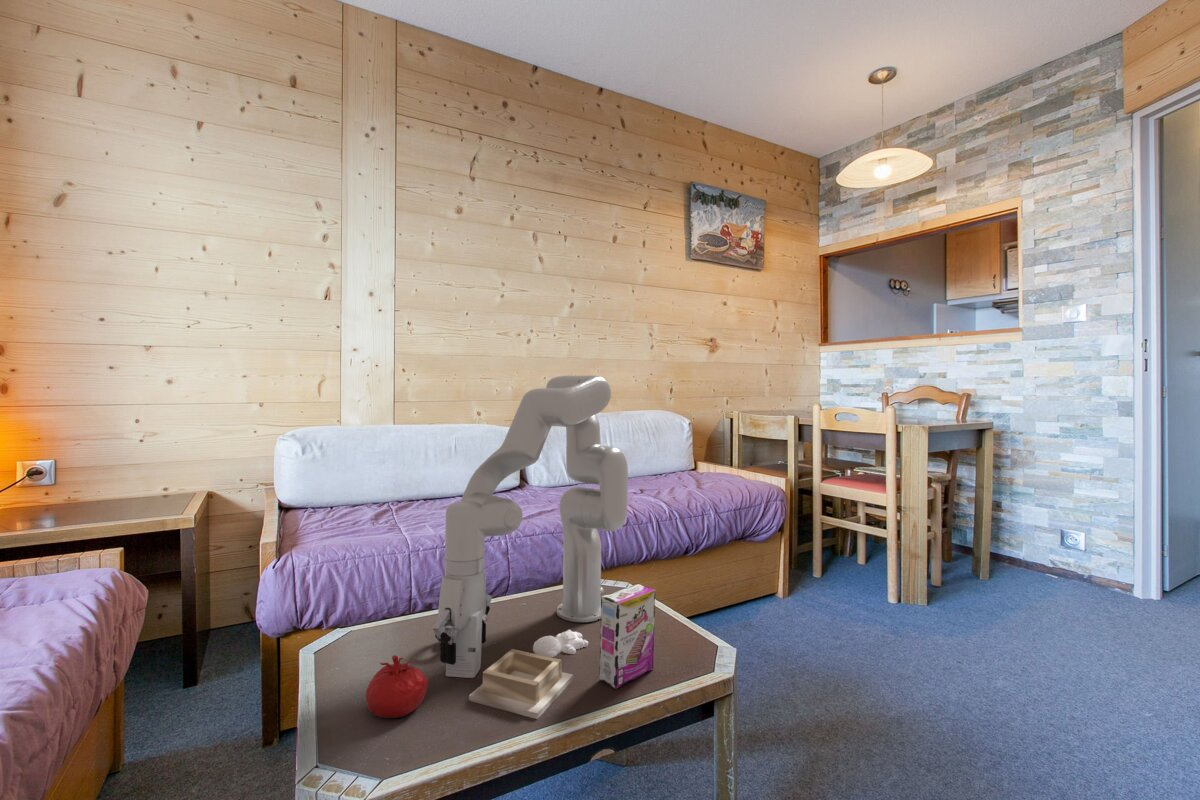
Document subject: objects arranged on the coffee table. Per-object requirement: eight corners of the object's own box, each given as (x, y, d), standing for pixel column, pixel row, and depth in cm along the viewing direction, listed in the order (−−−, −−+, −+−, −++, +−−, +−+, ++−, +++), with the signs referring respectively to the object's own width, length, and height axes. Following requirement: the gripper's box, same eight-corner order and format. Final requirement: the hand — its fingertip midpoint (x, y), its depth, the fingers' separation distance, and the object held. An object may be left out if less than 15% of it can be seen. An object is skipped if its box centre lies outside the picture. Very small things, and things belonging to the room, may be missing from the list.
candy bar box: (617, 690, 103) (617, 603, 102) (598, 680, 106) (599, 596, 106) (655, 670, 110) (656, 588, 110) (636, 661, 114) (637, 582, 114)
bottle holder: (510, 665, 112) (511, 643, 112) (573, 679, 106) (573, 656, 106) (469, 700, 99) (469, 675, 99) (537, 719, 93) (537, 693, 93)
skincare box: (445, 677, 107) (445, 615, 107) (452, 665, 111) (453, 606, 111) (476, 678, 106) (476, 616, 106) (482, 667, 111) (483, 607, 111)
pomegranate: (404, 731, 90) (404, 675, 90) (353, 720, 93) (353, 666, 93) (438, 697, 100) (438, 647, 99) (390, 688, 102) (390, 639, 102)
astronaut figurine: (591, 653, 118) (592, 639, 118) (536, 661, 114) (536, 646, 114) (581, 636, 126) (581, 623, 126) (529, 643, 123) (529, 629, 123)
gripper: (475, 552, 118) (474, 631, 118) (419, 576, 102) (418, 667, 102) (504, 556, 115) (504, 637, 115) (452, 581, 99) (451, 676, 99)
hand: (463, 651), depth 109 cm, fingers open, 9 cm apart
